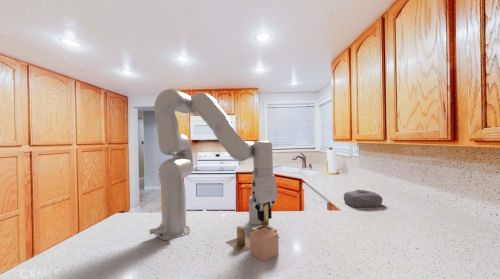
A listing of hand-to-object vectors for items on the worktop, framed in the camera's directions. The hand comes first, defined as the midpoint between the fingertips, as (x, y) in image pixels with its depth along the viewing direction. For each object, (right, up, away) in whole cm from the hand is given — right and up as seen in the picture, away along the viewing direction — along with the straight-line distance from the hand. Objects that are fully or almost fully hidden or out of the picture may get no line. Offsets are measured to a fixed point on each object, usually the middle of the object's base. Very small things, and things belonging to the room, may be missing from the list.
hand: (264, 218), depth 83 cm
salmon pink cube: (-1, -8, -13) cm, 15 cm away
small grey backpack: (+61, -7, +40) cm, 73 cm away
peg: (0, -2, 0) cm, 2 cm away
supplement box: (-2, -8, +15) cm, 17 cm away
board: (-4, -8, -3) cm, 10 cm away
